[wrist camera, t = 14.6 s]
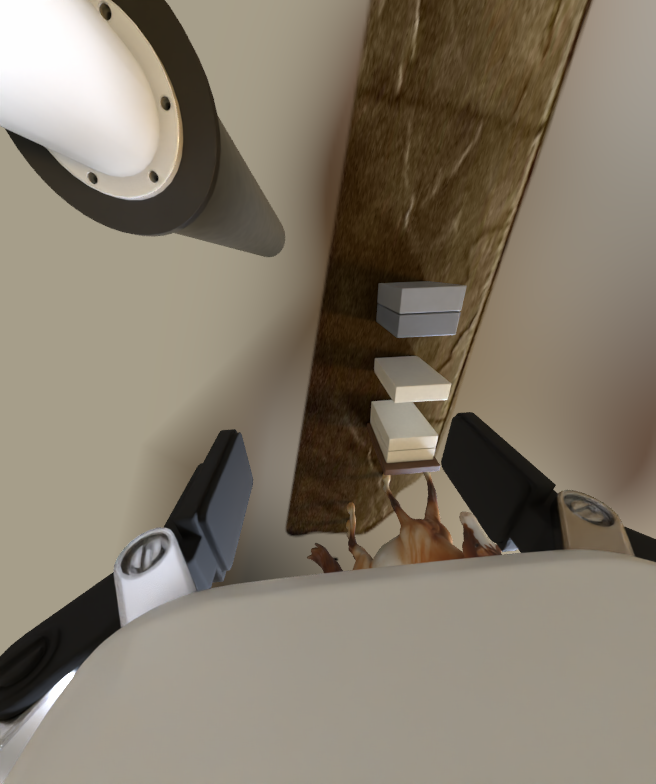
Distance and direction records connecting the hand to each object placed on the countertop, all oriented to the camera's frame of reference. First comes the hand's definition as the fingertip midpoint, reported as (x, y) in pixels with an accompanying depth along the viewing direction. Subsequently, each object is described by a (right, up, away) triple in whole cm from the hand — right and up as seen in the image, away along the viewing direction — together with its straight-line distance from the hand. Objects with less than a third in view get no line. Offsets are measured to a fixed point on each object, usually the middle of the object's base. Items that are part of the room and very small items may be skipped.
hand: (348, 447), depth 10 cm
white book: (+9, +7, +23) cm, 25 cm away
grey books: (+8, +14, +19) cm, 25 cm away
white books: (+9, 0, +26) cm, 28 cm away
